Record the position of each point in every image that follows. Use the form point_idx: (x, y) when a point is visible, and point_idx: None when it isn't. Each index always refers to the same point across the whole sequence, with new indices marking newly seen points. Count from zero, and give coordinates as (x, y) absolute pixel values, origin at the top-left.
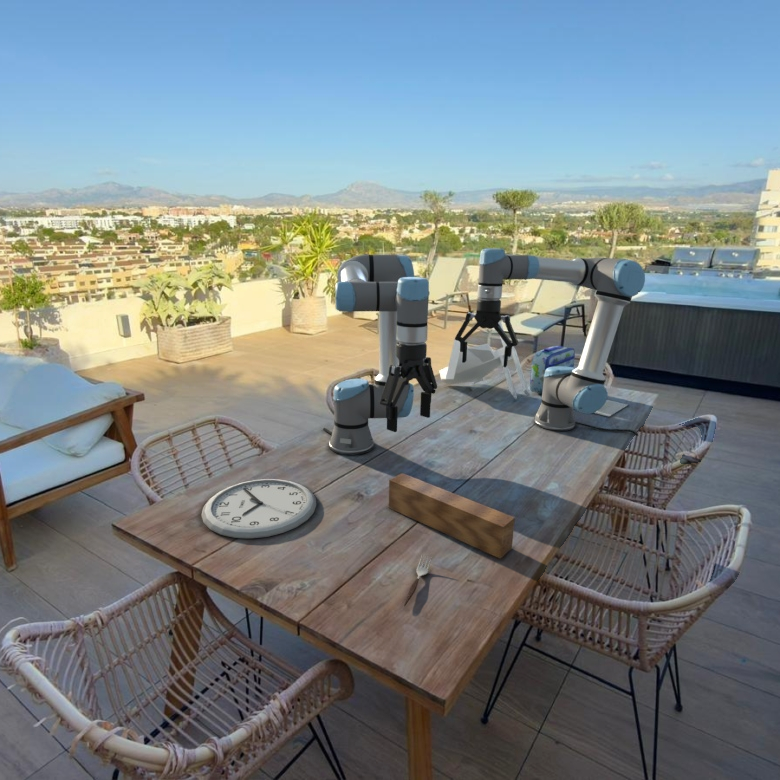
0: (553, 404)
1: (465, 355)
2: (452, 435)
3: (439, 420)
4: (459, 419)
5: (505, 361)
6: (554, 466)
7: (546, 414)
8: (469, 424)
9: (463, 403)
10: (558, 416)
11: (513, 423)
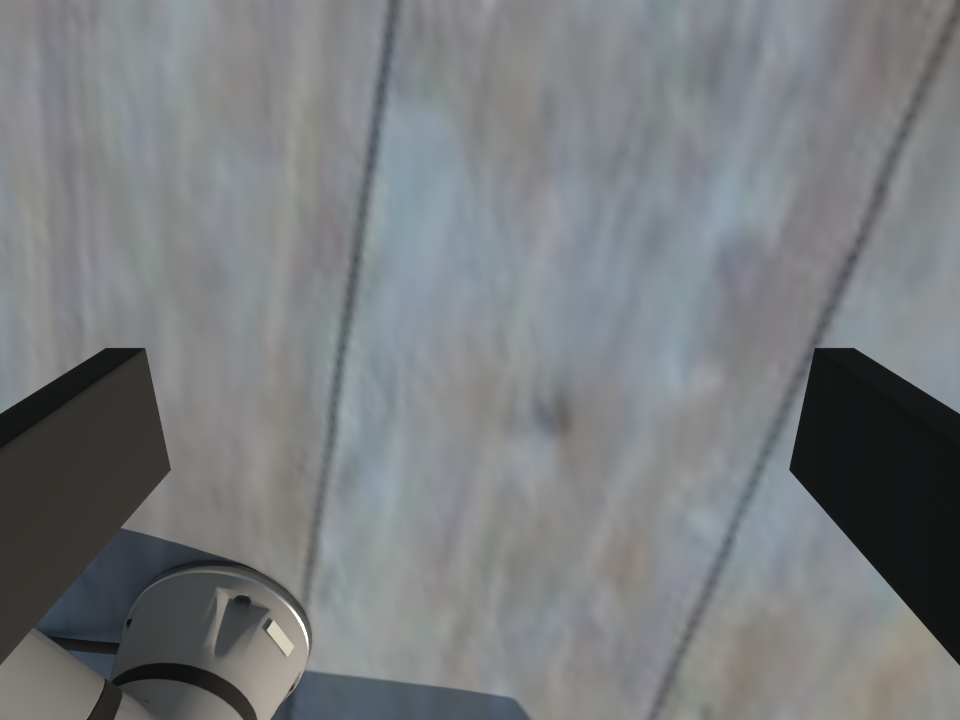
0: (170, 677)
1: (871, 452)
2: (642, 328)
3: (740, 487)
4: (645, 533)
5: (52, 386)
6: (75, 149)
7: (227, 633)
8: (587, 493)
9: (661, 713)
10: (163, 623)
11: (393, 577)
